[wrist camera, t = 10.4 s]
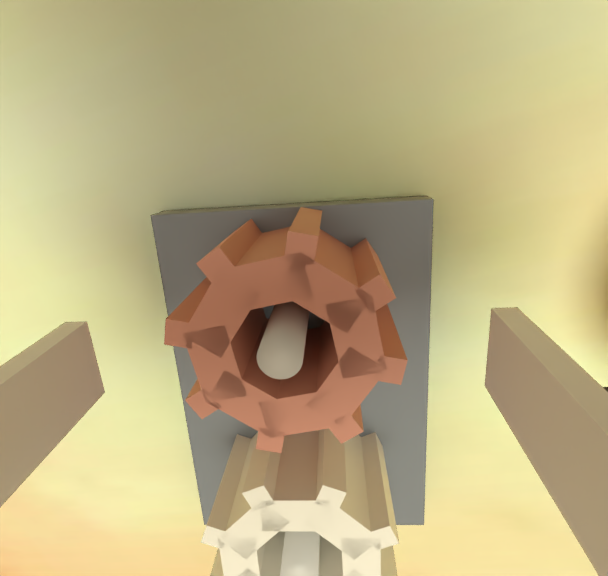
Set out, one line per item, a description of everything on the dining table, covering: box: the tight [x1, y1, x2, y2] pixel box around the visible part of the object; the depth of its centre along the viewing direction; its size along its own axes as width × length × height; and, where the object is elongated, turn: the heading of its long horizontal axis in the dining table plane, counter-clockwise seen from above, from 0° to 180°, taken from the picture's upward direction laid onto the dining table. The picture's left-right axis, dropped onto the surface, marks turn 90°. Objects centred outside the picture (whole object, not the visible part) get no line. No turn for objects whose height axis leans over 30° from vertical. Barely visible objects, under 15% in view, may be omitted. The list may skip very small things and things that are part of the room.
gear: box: [164, 207, 408, 453], centre depth 18 cm, size 8×8×6 cm
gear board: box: [151, 196, 433, 576], centre depth 20 cm, size 19×13×8 cm
